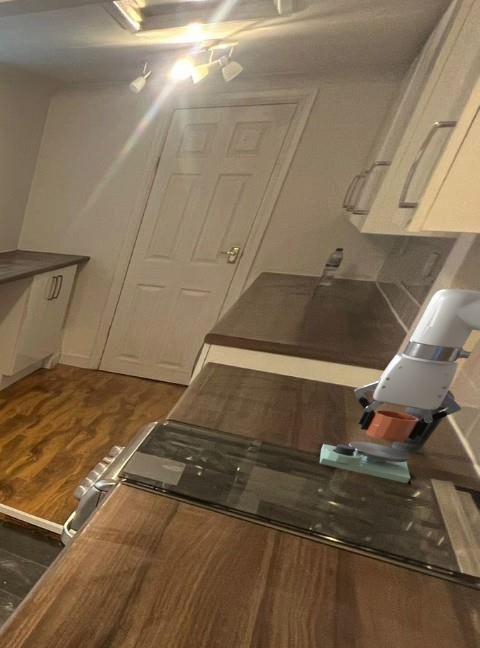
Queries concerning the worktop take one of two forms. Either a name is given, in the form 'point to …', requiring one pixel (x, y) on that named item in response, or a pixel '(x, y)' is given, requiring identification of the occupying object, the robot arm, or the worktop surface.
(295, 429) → the worktop surface
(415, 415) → the beverage cup
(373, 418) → the bowl
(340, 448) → the tare button
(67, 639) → the worktop surface
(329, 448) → the scale
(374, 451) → the scale pan
